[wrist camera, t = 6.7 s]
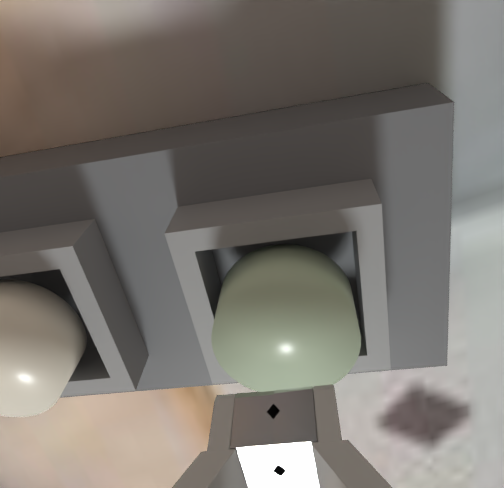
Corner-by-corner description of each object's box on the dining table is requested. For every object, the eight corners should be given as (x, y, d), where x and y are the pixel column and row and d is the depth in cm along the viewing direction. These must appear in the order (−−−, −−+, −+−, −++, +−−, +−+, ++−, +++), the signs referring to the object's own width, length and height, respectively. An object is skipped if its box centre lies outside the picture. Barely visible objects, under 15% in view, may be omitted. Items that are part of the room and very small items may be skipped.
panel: (427, 82, 16) (477, 119, 12) (428, 319, 22) (462, 403, 17) (-282, 206, 21) (-427, 263, 17) (-142, 375, 27) (-225, 451, 22)
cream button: (58, 272, 16) (28, 311, 14) (103, 367, 18) (81, 412, 16) (-56, 287, 17) (-100, 326, 15) (0, 377, 19) (-32, 421, 17)
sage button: (346, 235, 15) (354, 273, 13) (357, 344, 17) (365, 390, 15) (207, 253, 15) (195, 292, 13) (234, 355, 17) (228, 401, 16)
